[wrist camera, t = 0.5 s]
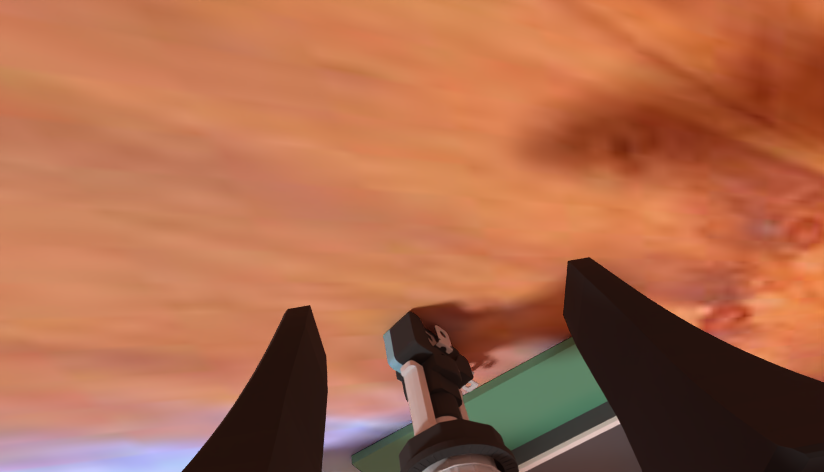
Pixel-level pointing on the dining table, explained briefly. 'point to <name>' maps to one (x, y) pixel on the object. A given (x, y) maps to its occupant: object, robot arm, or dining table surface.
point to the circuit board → (512, 404)
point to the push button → (440, 405)
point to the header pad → (580, 446)
